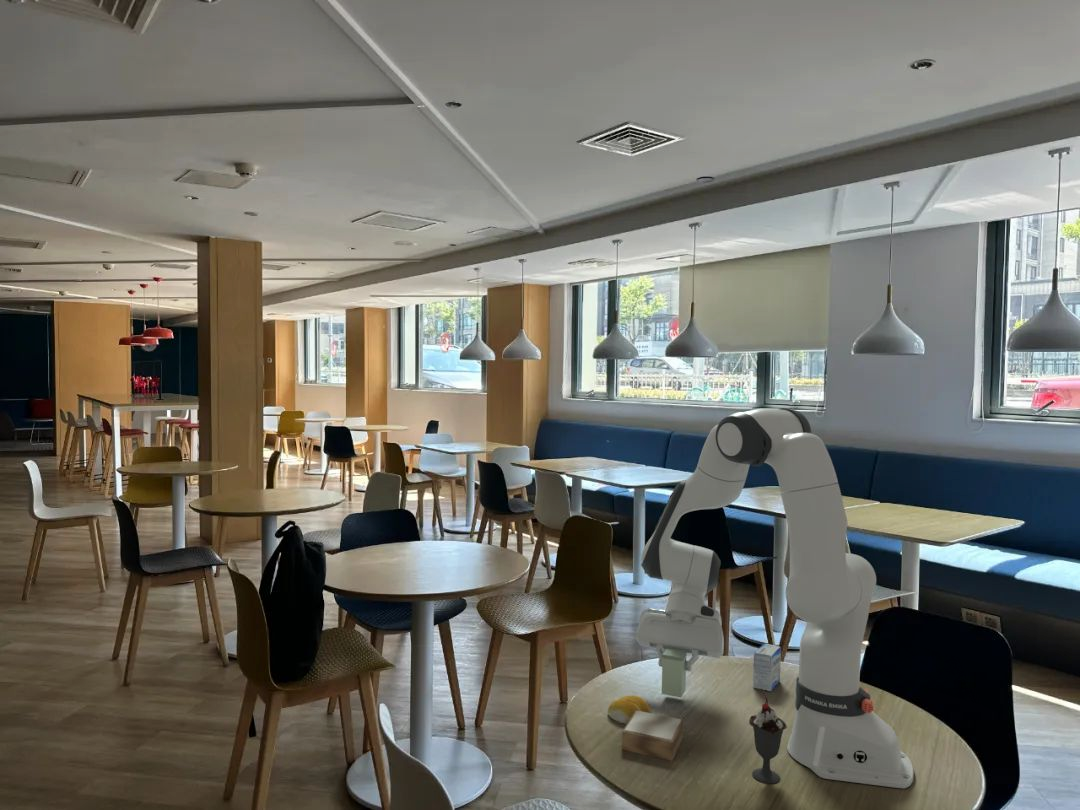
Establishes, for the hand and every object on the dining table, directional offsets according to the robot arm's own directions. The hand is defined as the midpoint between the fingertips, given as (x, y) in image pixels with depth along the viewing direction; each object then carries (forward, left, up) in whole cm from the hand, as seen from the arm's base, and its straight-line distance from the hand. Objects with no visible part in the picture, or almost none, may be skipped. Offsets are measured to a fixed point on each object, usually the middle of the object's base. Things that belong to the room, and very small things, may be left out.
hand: (674, 667), depth 167 cm
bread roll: (+7, +13, -8) cm, 16 cm away
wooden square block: (-1, +22, -7) cm, 24 cm away
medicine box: (-19, -18, -7) cm, 27 cm away
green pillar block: (0, 0, -5) cm, 5 cm away
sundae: (-23, +25, -7) cm, 35 cm away
